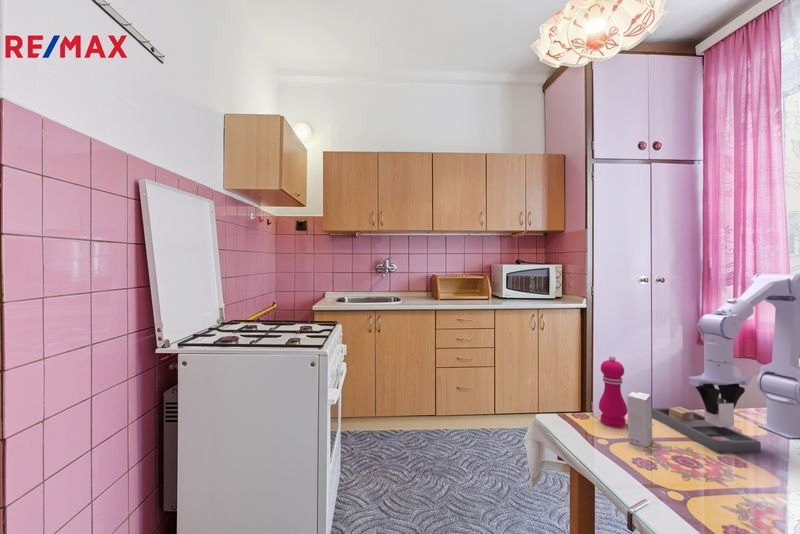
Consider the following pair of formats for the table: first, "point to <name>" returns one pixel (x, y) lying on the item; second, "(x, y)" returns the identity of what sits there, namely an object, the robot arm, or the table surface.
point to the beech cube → (680, 413)
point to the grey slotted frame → (708, 433)
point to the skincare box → (639, 418)
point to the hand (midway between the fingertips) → (719, 412)
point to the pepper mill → (612, 394)
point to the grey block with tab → (722, 414)
